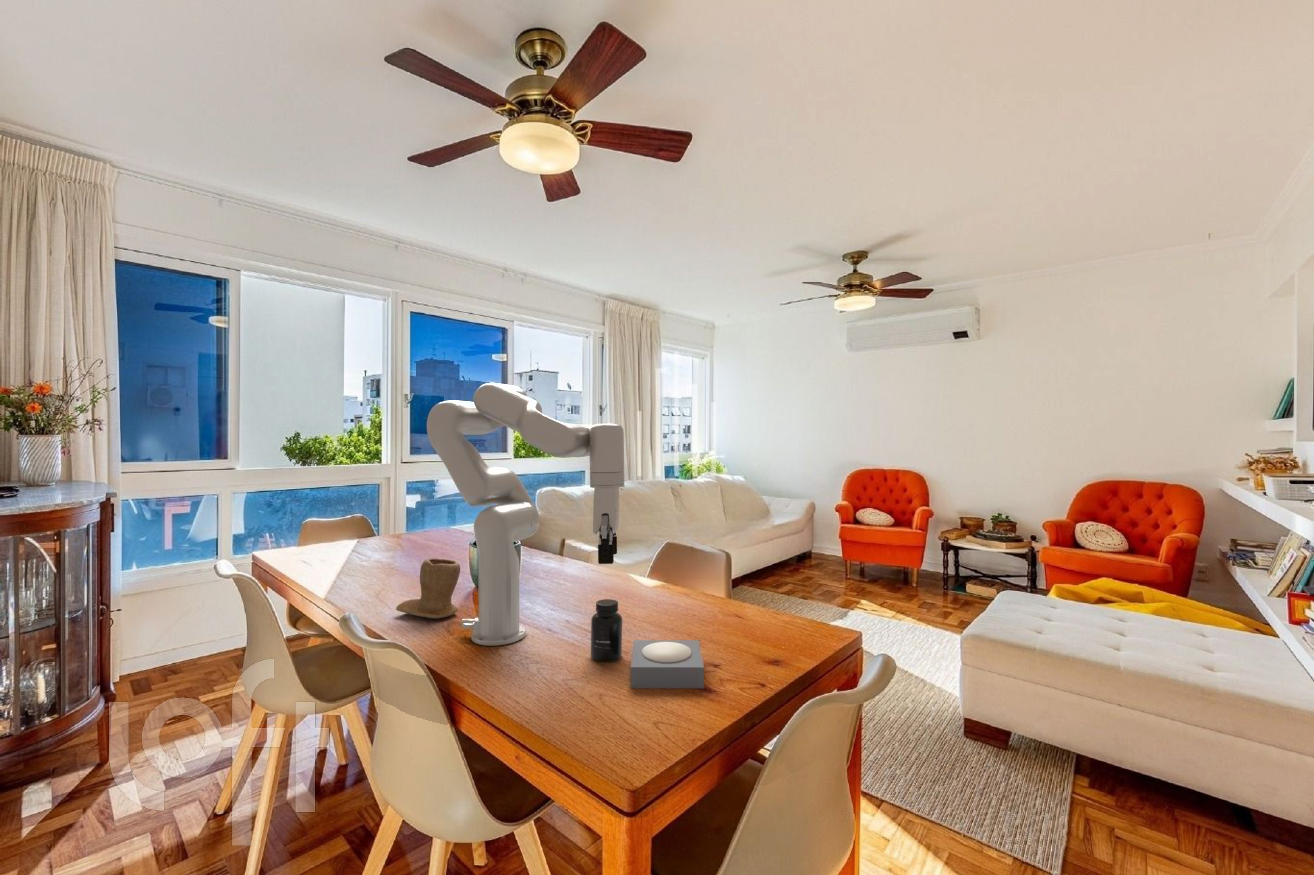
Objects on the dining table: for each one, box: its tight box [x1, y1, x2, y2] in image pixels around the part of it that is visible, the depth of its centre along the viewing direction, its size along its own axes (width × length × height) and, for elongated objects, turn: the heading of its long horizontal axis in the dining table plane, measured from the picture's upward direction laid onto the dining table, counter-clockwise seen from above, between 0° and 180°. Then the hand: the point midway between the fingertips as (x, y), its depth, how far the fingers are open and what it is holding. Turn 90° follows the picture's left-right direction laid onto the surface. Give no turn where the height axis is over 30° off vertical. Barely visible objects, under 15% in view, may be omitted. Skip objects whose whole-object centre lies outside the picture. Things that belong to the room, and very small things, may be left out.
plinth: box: [630, 639, 705, 689], centre depth 111 cm, size 14×14×4 cm
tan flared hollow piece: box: [395, 557, 461, 619], centre depth 148 cm, size 15×12×15 cm
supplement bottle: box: [590, 598, 623, 663], centre depth 119 cm, size 7×7×12 cm
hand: (608, 558), depth 119 cm, fingers open, 9 cm apart
